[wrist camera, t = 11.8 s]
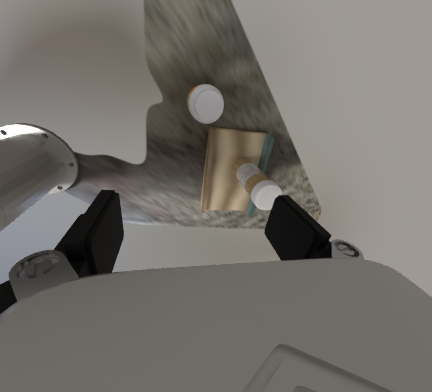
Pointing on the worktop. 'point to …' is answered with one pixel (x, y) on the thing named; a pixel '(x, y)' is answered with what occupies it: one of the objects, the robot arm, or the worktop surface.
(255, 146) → the shelf board
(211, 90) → the supplement bottle
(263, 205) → the sprinkles bottle
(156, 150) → the worktop surface
